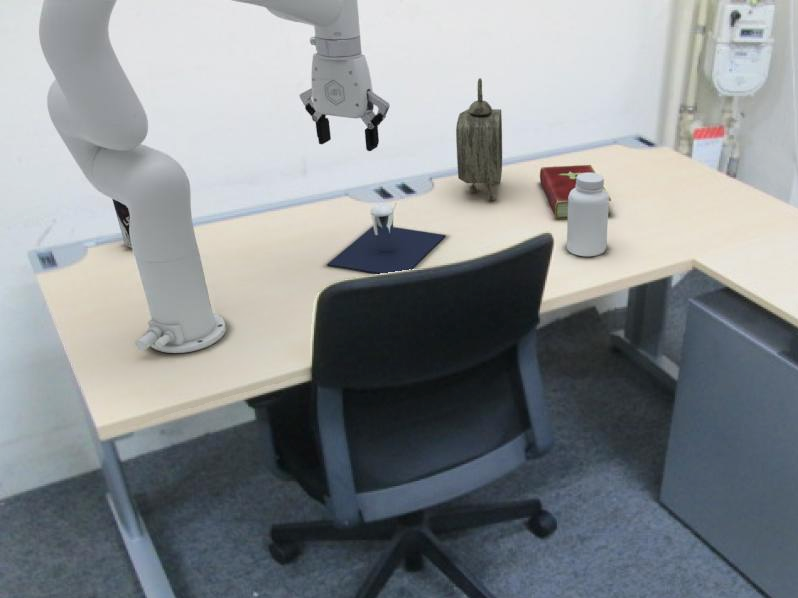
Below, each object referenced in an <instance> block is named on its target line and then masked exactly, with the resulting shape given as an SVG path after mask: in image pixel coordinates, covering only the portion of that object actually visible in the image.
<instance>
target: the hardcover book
mask: <svg viewBox="0 0 798 598" xmlns="http://www.w3.org/2000/svg"><path fill="white" fill-rule="evenodd" d="M581 173H596V171H595V170H594V168H593V166H592V165H591V164H579V165H559V166H558V165H557V166H542V167H541V168H540V169H539V182H540V184H541V187H542V189H543V191H544V194H545V196H546V198H547V200H548V202H549V205H550V207H551V209H552V212H553V214H554V217H555V219H556V220H559V221H560V220H568V196H569V193H570V192H571V190H573V189H574V188H576V177H577V175H579V174H581ZM603 189H604V190H606V188H605V186H604V185H603ZM611 201H612V198H611V197H610V196H609V202H611ZM609 217H611V214H610V212H609V211H608V218H609Z"/></svg>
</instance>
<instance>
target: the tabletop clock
mask: <svg viewBox="0 0 798 598" xmlns="http://www.w3.org/2000/svg"><path fill="white" fill-rule="evenodd" d="M502 121H503V119H502V109H499V108H497V109H496V108H492V106H491V105H490V104H489V102H487V100H483V80H482V78H481V77H479V78H478V80H477V100H475V101H473V102H472V103H471V104H470V105H469V107H468V108H467V109H465V110H464V111H462V112H459V115H458V117H457V121H456V129H455V136H456V137H455V138H456V162H457V163H456V164H457V178H458V180H460V181H462V182H463V183H466V184H470V186H469V188H468V191H469V192H470V193H473V194H474V193H475V192H476V191H477V187H476V184H480V185H484V187H485V188H486V190H487V192H488V196H487V197H488V200H489V201H490V202H494V201H495V200H496V198H497V197H496V195H495V194H494V193H493V192H492V189H491V186H490V185H491V184H492V185H499V184H501V180H502V174H503V173H502V172H503V122H502ZM471 184H472V185H471Z"/></svg>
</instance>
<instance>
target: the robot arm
mask: <svg viewBox="0 0 798 598" xmlns="http://www.w3.org/2000/svg"><path fill="white" fill-rule="evenodd" d="M117 1H118V0H43V3H42V7H41V11H40V16H39V23H38V25H39V26H38V37H39V44H40V47H41V51H42V54H43V56H44V59H45V61H46V63H47V65H48V66H49V69H50V70H51V72H52V74H53V76H54V78H55V79H54V80H53V82H52V83H51V85H50V86H49V89H48V92H47V96H46V98H47V99H46V104H47V111H48V115H49V118H50V120H51V122H52V124H53V127H54V128H55V130H56V132H57V133H58V135H59V136H60V138H61V140H62V141H63V143H64V145H65V147H66V148H67V149H68V151H69V153H70V155H71V156H72V158H73V159H74V161H75V163H76V164H77V166H78V168H79V169H80V171H81V172H82V173H83V175H84V176H85V179H87V181H88V182H89V183H90V184H91V185H92V187H93V188H94V189H95V190H96V191H98V192H99V193H101V194H102V195H104V196H106V197H108V198H110V199H114V200H116V201H119V202H120V203H122V204H124V205H126V206H127V207H128V209H129V213H130V225H129V234H130V241H131V245H132V248H131V249H132V253H133V256H134V258H135V263H136V266H137V271H138V273H139V277H140V281H141V284H142V289H143V292H144V295H145V299H146V302H147V306H148V310H149V313H150V317H151V319H149V321H147V324H148V329H147V330H146V333H145V334H144V335H142V336H141V337H139V338H138V339H137V340H135V346H136V348H137V349H138V350H139V351H146V350H147V349H149V348H150V347H151V348H152V349H154V350H155V351H159V352H161V353H166V354H167V353H168V354H184V353H192V352H195V351H199V350H202V349H205V348H207V347H210V346H212V345H213V344H215V343H217V342H219V340H220V339H222V338H223V337H224V335H225V333H226V330H227V326H226V321H225V319H224V318H223V317H222V316H220V315H218V314H217V313H215V312H214V311H213V308H212V304H211V299H210V293H209V290H208V284H207V281H206V276H205V272H204V269H203V263H202V259H201V255H200V250H199V245H198V242H197V237H196V233H195V228H194V223H193V217H192V216H193V215H192V201H191V199H192V198H191V197H192V196H191V184H190V179H189V177H188V175H187V172H186V170H185V169H184V168H183V167H182V165H181V164H180V163H179V162H178V161H177V160H176V159H175V158H173V157H172V156H170V155H168V154H167V153H165V152H164V151H160V150H158V149H157V148H153V147H150V146H147V145H146V144H143V142H144V141H145V140H146V138H147V135H148V131H149V121H148V115H147V113H146V110H145V108H144V106H143V104H142V101H141V100H140V98H139V97H138V95H137V92H136V91H135V89H134V87H133V85H132V84H131V82H130V80H129V77H128V76H127V74H126V72H125V70H124V68H123V67H122V65H121V63H120V62H119V61H120V60H119V59H118V57H117V55H116V52H115V50H114V47H113V45H112V43H111V39H110V32H109V27H110V26H109V25H110V21H111V15H112V13H113V10H114V7H115V5H116V3H117ZM232 1H234V2H238V3H244V4H248V5H254V6H257V7H262V8H266V10H267V11H268V12H269V13H270V14H272V15H274V16H275V17H277V18H279V19H283V20H284V21H285V20H287V21H291V22H295V23H301V24H304V25H308V26H309V25H310V26H313V27H314V36H311V37H310V39H309V43H310V45H312V46H315V51H316V52H315V53H313V55H312V62H311V88H309V89H307V90H305V91H303V92H302V93H300V94H299V99H300V101H301V102H302V104H303V106H304V110H305V111H306V112H307V113H308V114H309V116H310V117H311V119H312V121H313V122H314V123H315V129H316V130H315V131H316V137H317V138H318V144H319V145H324V144H326V143H328V142H329V141H331V139H332V138H331V128H330V120H329V118H328V117H327V116H332V117H339V118H346V119H347V118H348V119H361V121H362V122H363V123H364V124H365V126H366V128H365V129H364V137H365V150H366V151H368V152H373V150H375V149H377V148H378V145H379V142H380V137H379V126H380V125H381V123H382V122H383V121H384V120H385V119H386V117H387V114H388V112H389V109H390V103H389V102H388V101H386V100H385V99H383V98H382V97H381V96H379V95H377V94H376V93H375V92H374V91H373V84H372V78H371V72H370V69H369V65H368V61H367V58H366V55H365V54H363V52H362V42H361V28H360V17H359V16H360V15H359V4H358V0H232ZM374 106H376V107H377V109H378V110H377V113H375V112H374Z"/></svg>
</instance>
